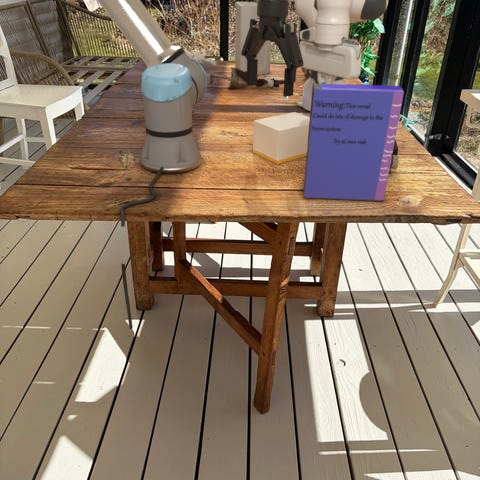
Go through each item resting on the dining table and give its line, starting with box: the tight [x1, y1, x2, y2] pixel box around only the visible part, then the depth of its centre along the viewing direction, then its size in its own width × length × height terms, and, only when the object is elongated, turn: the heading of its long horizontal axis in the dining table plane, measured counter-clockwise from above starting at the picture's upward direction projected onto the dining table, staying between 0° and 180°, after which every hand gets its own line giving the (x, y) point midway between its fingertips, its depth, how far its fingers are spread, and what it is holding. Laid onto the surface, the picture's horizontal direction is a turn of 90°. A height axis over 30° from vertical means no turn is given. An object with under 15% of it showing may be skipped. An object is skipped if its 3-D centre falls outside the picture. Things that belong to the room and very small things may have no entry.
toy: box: [184, 50, 218, 67], centre depth 224 cm, size 24×25×7 cm
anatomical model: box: [301, 67, 309, 81], centre depth 205 cm, size 13×9×15 cm
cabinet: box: [252, 111, 310, 165], centre depth 129 cm, size 14×10×9 cm
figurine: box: [209, 66, 284, 89], centre depth 190 cm, size 24×8×30 cm
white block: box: [234, 1, 272, 76], centre depth 210 cm, size 19×15×28 cm
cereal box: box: [302, 83, 405, 202], centre depth 102 cm, size 17×5×24 cm, turn 86°
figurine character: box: [388, 138, 399, 176], centre depth 121 cm, size 7×8×15 cm
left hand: (269, 90), depth 123 cm, fingers open, 13 cm apart
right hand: (325, 89), depth 130 cm, fingers closed
